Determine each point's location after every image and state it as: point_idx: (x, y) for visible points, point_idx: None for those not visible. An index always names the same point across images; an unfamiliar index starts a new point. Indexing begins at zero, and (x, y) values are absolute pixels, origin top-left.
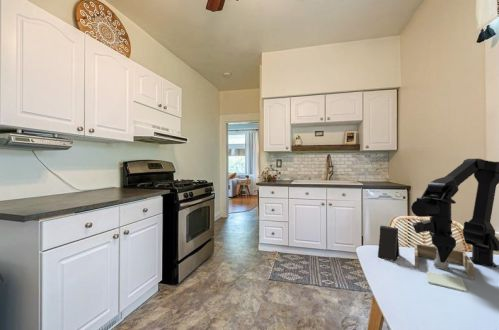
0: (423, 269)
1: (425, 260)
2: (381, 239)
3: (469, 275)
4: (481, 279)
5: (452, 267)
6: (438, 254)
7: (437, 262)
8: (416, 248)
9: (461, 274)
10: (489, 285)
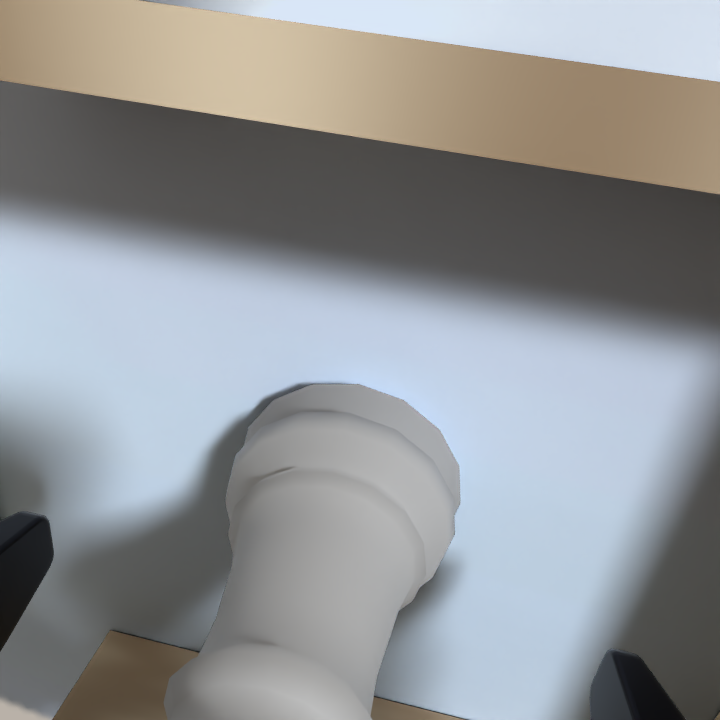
0: (48, 151)
1: (650, 313)
2: None
3: (155, 662)
4: None
5: (439, 608)
6: (226, 623)
7: (256, 467)
8: (717, 162)
9: (207, 604)
10: (56, 701)
